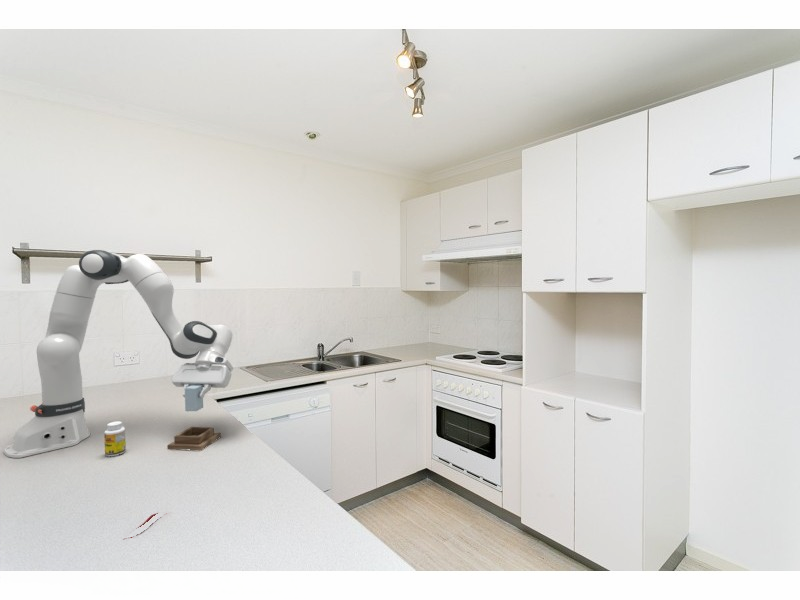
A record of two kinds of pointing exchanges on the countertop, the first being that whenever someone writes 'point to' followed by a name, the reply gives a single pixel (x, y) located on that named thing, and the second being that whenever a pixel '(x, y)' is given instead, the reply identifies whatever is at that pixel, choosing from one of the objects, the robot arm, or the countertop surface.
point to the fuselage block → (193, 398)
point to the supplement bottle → (114, 439)
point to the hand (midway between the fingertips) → (192, 397)
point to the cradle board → (194, 438)
